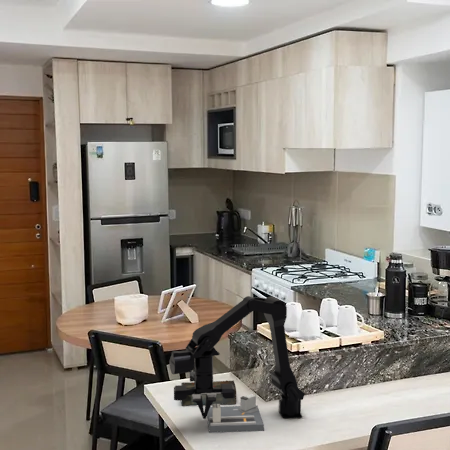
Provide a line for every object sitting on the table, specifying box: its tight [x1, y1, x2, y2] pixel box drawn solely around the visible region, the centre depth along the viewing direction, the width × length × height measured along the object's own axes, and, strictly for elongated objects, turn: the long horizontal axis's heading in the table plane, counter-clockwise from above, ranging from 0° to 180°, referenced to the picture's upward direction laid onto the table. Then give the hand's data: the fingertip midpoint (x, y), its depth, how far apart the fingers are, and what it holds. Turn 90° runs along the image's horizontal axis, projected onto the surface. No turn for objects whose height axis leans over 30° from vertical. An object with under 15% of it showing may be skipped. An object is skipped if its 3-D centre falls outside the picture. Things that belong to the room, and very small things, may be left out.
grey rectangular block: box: [239, 393, 257, 411], centre depth 205 cm, size 5×2×4 cm, turn 134°
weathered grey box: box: [180, 380, 237, 407], centre depth 217 cm, size 8×19×7 cm, turn 94°
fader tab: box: [211, 404, 222, 423], centre depth 195 cm, size 2×3×5 cm
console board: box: [206, 404, 265, 434], centre depth 200 cm, size 17×15×3 cm
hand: (204, 418), depth 195 cm, fingers closed
